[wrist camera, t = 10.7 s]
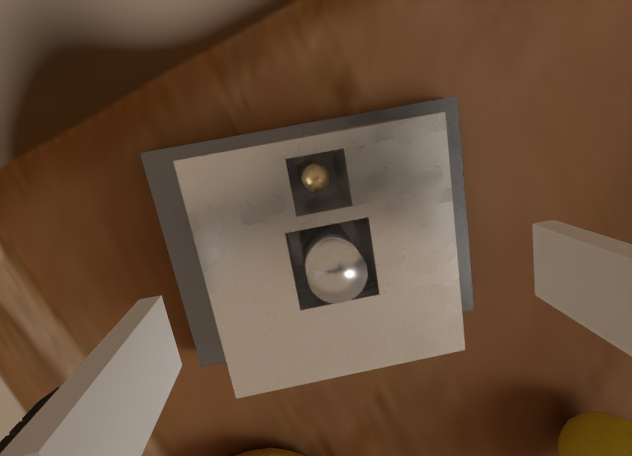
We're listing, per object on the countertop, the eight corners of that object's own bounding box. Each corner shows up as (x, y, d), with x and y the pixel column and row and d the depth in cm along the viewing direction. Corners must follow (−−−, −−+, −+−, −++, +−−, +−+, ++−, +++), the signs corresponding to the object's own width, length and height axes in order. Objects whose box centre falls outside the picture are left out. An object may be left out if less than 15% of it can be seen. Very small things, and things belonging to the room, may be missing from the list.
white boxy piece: (432, 312, 22) (465, 349, 18) (243, 351, 21) (236, 398, 18) (411, 116, 19) (445, 111, 15) (195, 155, 19) (173, 161, 15)
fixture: (445, 98, 21) (526, 80, 14) (462, 299, 24) (535, 364, 17) (149, 151, 20) (83, 160, 13) (206, 352, 23) (175, 443, 16)
